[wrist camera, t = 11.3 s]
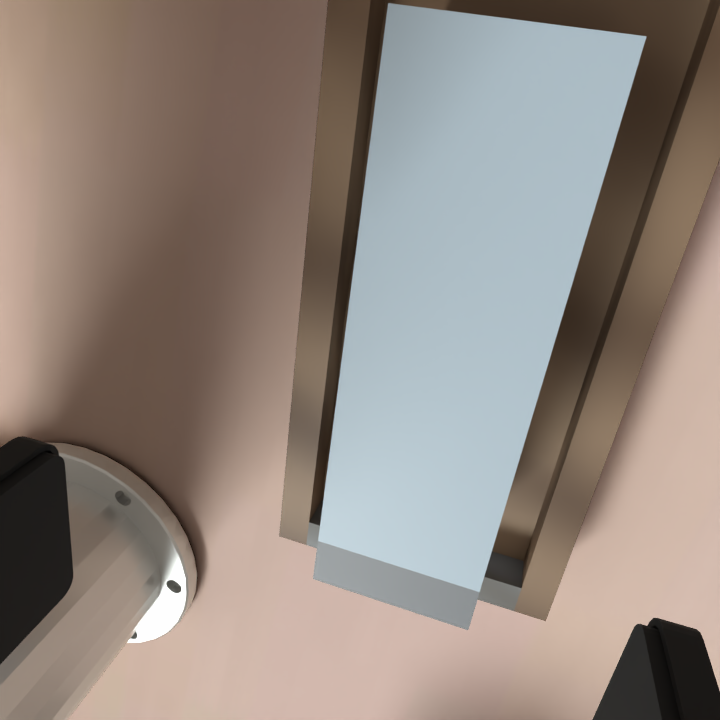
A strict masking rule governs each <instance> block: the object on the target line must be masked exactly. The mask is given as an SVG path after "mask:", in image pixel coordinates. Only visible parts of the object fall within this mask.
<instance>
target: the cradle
mask: <svg viewBox="0 0 720 720" xmlns="http://www.w3.org/2000/svg"><path fill="white" fill-rule="evenodd" d="M388 3H391V4H399V5H407V6H415V7H422V8H430V9H438V10H446V11H453V12H461V13H469V14H477V15H484V16H492V17H500V18H508V19H516V20H523V21H531V22H539V23H547V24H554V25H562V26H570V27H578V28H585V29H593V30H601V31H609V32H616V33H624V34H632V35H640V36H647V37H646V40H645V43H644V47H643V50H642V53H641V57H640V60H639V63H638V67H637V70H636V73H635V77H634V80H633V83H632V87H631V90H630V93H629V97H628V100H627V103H626V107H625V110H624V113H623V117H622V120H621V123H620V127H619V130H618V133H617V137H616V140H615V143H614V147H613V150H612V153H611V157H610V160H609V163H608V167H607V170H606V173H605V176H604V180H603V183H602V186H601V190H600V193H599V196H598V200H597V203H596V206H595V210H594V213H593V216H592V220H591V223H590V226H589V230H588V233H587V236H586V240H585V243H584V246H583V250H582V253H581V256H580V260H579V263H578V266H577V270H576V273H575V276H574V280H573V283H572V286H571V290H570V293H569V296H568V300H567V303H566V306H565V310H564V313H563V316H562V320H561V323H560V326H559V330H558V333H557V336H556V340H555V343H554V346H553V350H552V353H551V356H550V360H549V363H548V366H547V369H546V373H545V376H544V379H543V383H542V386H541V389H540V393H539V396H538V399H537V403H536V406H535V409H534V413H533V416H532V419H531V423H530V426H529V429H528V433H527V436H526V439H525V443H524V446H523V449H522V453H521V456H520V459H519V463H518V466H517V469H516V473H515V476H514V479H513V483H512V486H511V489H510V493H509V496H508V499H507V503H506V506H505V509H504V513H503V516H502V519H501V523H500V526H499V529H498V533H497V536H496V539H495V543H494V546H493V549H492V552H491V556H490V559H489V562H488V566H487V569H486V572H485V576H484V579H483V582H482V586H481V589H480V592H479V596H478V600H481V601H484V602H487V603H490V604H494V605H497V606H500V607H503V608H506V609H509V610H512V611H516V612H519V613H522V614H525V615H528V616H531V617H534V618H537V619H541V620H544V621H546V619H547V616H548V613H549V611H550V608H551V605H552V603H553V600H554V597H555V595H556V592H557V589H558V587H559V584H560V582H561V579H562V576H563V574H564V571H565V568H566V566H567V563H568V560H569V558H570V555H571V552H572V550H573V547H574V544H575V542H576V539H577V536H578V534H579V531H580V528H581V526H582V523H583V520H584V518H585V515H586V512H587V510H588V507H589V504H590V502H591V499H592V497H593V494H594V491H595V489H596V486H597V483H598V481H599V478H600V475H601V473H602V470H603V467H604V465H605V462H606V459H607V457H608V454H609V451H610V449H611V446H612V443H613V441H614V438H615V435H616V433H617V430H618V427H619V425H620V422H621V419H622V417H623V414H624V411H625V409H626V406H627V404H628V401H629V398H630V396H631V393H632V390H633V388H634V385H635V382H636V380H637V377H638V374H639V372H640V369H641V366H642V364H643V361H644V358H645V356H646V353H647V350H648V348H649V345H650V342H651V340H652V337H653V334H654V332H655V329H656V326H657V324H658V321H659V319H660V316H661V313H662V311H663V308H664V305H665V303H666V300H667V297H668V295H669V292H670V289H671V287H672V284H673V281H674V279H675V276H676V273H677V271H678V268H679V265H680V263H681V260H682V257H683V255H684V252H685V249H686V247H687V244H688V241H689V239H690V236H691V234H692V231H693V228H694V226H695V223H696V220H697V218H698V215H699V212H700V210H701V207H702V204H703V202H704V199H705V196H706V194H707V191H708V188H709V186H710V183H711V180H712V178H713V175H714V172H715V170H716V167H717V164H718V162H719V159H720V0H328V7H327V18H326V29H325V40H324V51H323V62H322V73H321V84H320V95H319V106H318V117H317V128H316V139H315V150H314V161H313V172H312V183H311V194H310V205H309V216H308V227H307V238H306V249H305V260H304V271H303V282H302V293H301V303H300V314H299V325H298V336H297V347H296V358H295V369H294V380H293V391H292V402H291V413H290V424H289V435H288V446H287V457H286V468H285V479H284V490H283V501H282V512H281V523H280V534H279V536H280V537H283V538H287V539H290V540H293V541H296V542H299V543H302V544H305V545H309V546H312V547H315V548H317V545H318V538H319V530H320V522H321V515H322V507H323V499H324V492H325V484H326V476H327V469H328V461H329V453H330V446H331V438H332V430H333V423H334V415H335V407H336V400H337V392H338V384H339V377H340V369H341V361H342V354H343V346H344V338H345V331H346V323H347V315H348V308H349V300H350V292H351V285H352V277H353V269H354V262H355V254H356V246H357V239H358V231H359V223H360V216H361V208H362V200H363V193H364V185H365V177H366V170H367V162H368V154H369V147H370V139H371V131H372V124H373V116H374V108H375V101H376V93H377V85H378V78H379V70H380V62H381V55H382V47H383V39H384V32H385V24H386V16H387V9H388Z"/></svg>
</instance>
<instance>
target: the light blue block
mask: <svg viewBox="0 0 720 720" xmlns="http://www.w3.org/2000/svg"><path fill="white" fill-rule="evenodd" d="M646 37H647V36H640V35H632V34H624V33H616V32H609V31H601V30H593V29H585V28H578V27H570V26H562V25H554V24H547V23H539V22H531V21H523V20H516V19H508V18H500V17H492V16H484V15H477V14H469V13H461V12H453V11H446V10H438V9H430V8H422V7H415V6H407V5H399V4H391V3H388V9H387V16H386V24H385V32H384V39H383V47H382V55H381V62H380V70H379V78H378V85H377V93H376V101H375V108H374V116H373V124H372V131H371V139H370V147H369V154H368V162H367V170H366V177H365V185H364V193H363V200H362V208H361V216H360V223H359V231H358V239H357V246H356V254H355V262H354V269H353V277H352V285H351V292H350V300H349V308H348V315H347V323H346V331H345V338H344V346H343V354H342V361H341V369H340V377H339V384H338V392H337V400H336V407H335V415H334V423H333V430H332V438H331V446H330V453H329V461H328V469H327V476H326V484H325V492H324V499H323V507H322V515H321V522H320V530H319V538H318V545H317V553H316V561H315V568H314V576H313V579H315V580H318V581H321V582H324V583H327V584H330V585H333V586H336V587H339V588H342V589H345V590H348V591H351V592H354V593H357V594H360V595H363V596H366V597H369V598H372V599H375V600H378V601H381V602H384V603H387V604H390V605H394V606H397V607H400V608H403V609H406V610H409V611H412V612H415V613H418V614H421V615H424V616H427V617H430V618H433V619H436V620H439V621H442V622H445V623H448V624H451V625H454V626H457V627H460V628H463V629H466V630H468V629H469V626H470V622H471V619H472V616H473V612H474V609H475V606H476V602H477V599H478V596H479V592H480V589H481V586H482V582H483V579H484V576H485V572H486V569H487V566H488V562H489V559H490V556H491V552H492V549H493V546H494V543H495V539H496V536H497V533H498V529H499V526H500V523H501V519H502V516H503V513H504V509H505V506H506V503H507V499H508V496H509V493H510V489H511V486H512V483H513V479H514V476H515V473H516V469H517V466H518V463H519V459H520V456H521V453H522V449H523V446H524V443H525V439H526V436H527V433H528V429H529V426H530V423H531V419H532V416H533V413H534V409H535V406H536V403H537V399H538V396H539V393H540V389H541V386H542V383H543V379H544V376H545V373H546V369H547V366H548V363H549V360H550V356H551V353H552V350H553V346H554V343H555V340H556V336H557V333H558V330H559V326H560V323H561V320H562V316H563V313H564V310H565V306H566V303H567V300H568V296H569V293H570V290H571V286H572V283H573V280H574V276H575V273H576V270H577V266H578V263H579V260H580V256H581V253H582V250H583V246H584V243H585V240H586V236H587V233H588V230H589V226H590V223H591V220H592V216H593V213H594V210H595V206H596V203H597V200H598V196H599V193H600V190H601V186H602V183H603V180H604V176H605V173H606V170H607V167H608V163H609V160H610V157H611V153H612V150H613V147H614V143H615V140H616V137H617V133H618V130H619V127H620V123H621V120H622V117H623V113H624V110H625V107H626V103H627V100H628V97H629V93H630V90H631V87H632V83H633V80H634V77H635V73H636V70H637V67H638V63H639V60H640V57H641V53H642V50H643V47H644V43H645V40H646Z"/></svg>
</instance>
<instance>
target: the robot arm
mask: <svg viewBox="0 0 720 720" xmlns="http://www.w3.org/2000/svg"><path fill="white" fill-rule="evenodd" d="M196 583H197V571H196V565H195V558H194V555H193V552H192V549H191V546H190V543H189V541H188V538H187V536H186V534H185V532H184V530H183V529H182V527H181V525H180V523H179V521H178V520H177V518H176V516H175V515H174V514H173V513H172V511H171V510H170V509H169V507H168V506H167V505H166V503H165V502H164V501H163V499H162V498H161V497H160V496H159V495H158V494H157V493H156V492H155V491H154V490H153V489H152V488H151V487H150V486H149V485H148V484H147V483H146V482H144V481H143V480H142V479H140V478H139V477H138V476H136V475H135V474H134V473H133V472H131V471H130V470H129V469H127V468H126V467H124V466H122V465H121V464H119V463H117V462H115V461H114V460H112V459H110V458H108V457H107V456H104V455H102V454H99V453H97V452H94V451H92V450H89V449H87V448H84V447H79V446H75V445H70V444H66V443H45V442H41V441H38V440H34V439H31V438H27V437H17V438H15V439H13V440H11V441H10V442H8V443H7V444H5V445H4V446H2V447H1V448H0V720H68V719H69V718H70V716H71V715H72V714H73V712H74V711H75V710H76V708H77V707H78V706H79V705H80V703H81V702H82V701H83V699H84V698H85V697H86V695H87V694H88V693H89V691H90V690H91V689H92V688H93V686H94V685H95V684H96V682H97V681H98V680H99V678H100V677H101V676H102V674H103V673H104V672H105V671H106V669H107V668H108V667H109V665H110V664H111V663H112V661H113V660H114V659H115V658H116V656H117V655H118V654H119V652H120V651H121V650H122V648H123V647H124V646H125V644H126V643H129V642H145V641H149V640H153V639H157V638H159V637H161V636H163V635H165V634H167V633H168V632H170V631H171V630H172V629H173V628H174V627H175V626H176V625H177V624H178V623H179V622H180V620H181V619H182V617H183V616H184V614H185V613H186V611H187V610H188V609H189V607H190V606H191V603H192V601H193V598H194V595H195V592H196ZM593 720H720V691H719V688H718V685H717V682H716V678H715V675H714V672H713V669H712V666H711V662H710V659H709V656H708V653H707V650H706V647H705V643H704V640H703V638H702V635H701V633H700V632H699V631H698V630H697V629H693V628H690V627H686V626H683V625H679V624H676V623H673V622H669V621H666V620H662V619H659V618H653V619H652V620H651V621H650V622H649V624H648V626H645V625H642V624H637V625H636V626H635V627H634V629H633V631H632V633H631V635H630V638H629V640H628V642H627V644H626V647H625V649H624V651H623V653H622V655H621V658H620V660H619V662H618V664H617V667H616V669H615V671H614V673H613V676H612V678H611V680H610V682H609V684H608V687H607V689H606V691H605V693H604V696H603V698H602V700H601V702H600V704H599V707H598V709H597V711H596V713H595V716H594V718H593Z"/></svg>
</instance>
